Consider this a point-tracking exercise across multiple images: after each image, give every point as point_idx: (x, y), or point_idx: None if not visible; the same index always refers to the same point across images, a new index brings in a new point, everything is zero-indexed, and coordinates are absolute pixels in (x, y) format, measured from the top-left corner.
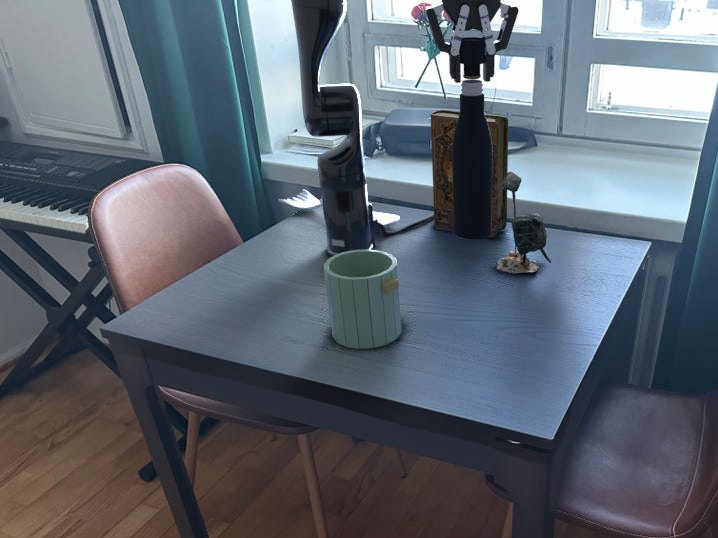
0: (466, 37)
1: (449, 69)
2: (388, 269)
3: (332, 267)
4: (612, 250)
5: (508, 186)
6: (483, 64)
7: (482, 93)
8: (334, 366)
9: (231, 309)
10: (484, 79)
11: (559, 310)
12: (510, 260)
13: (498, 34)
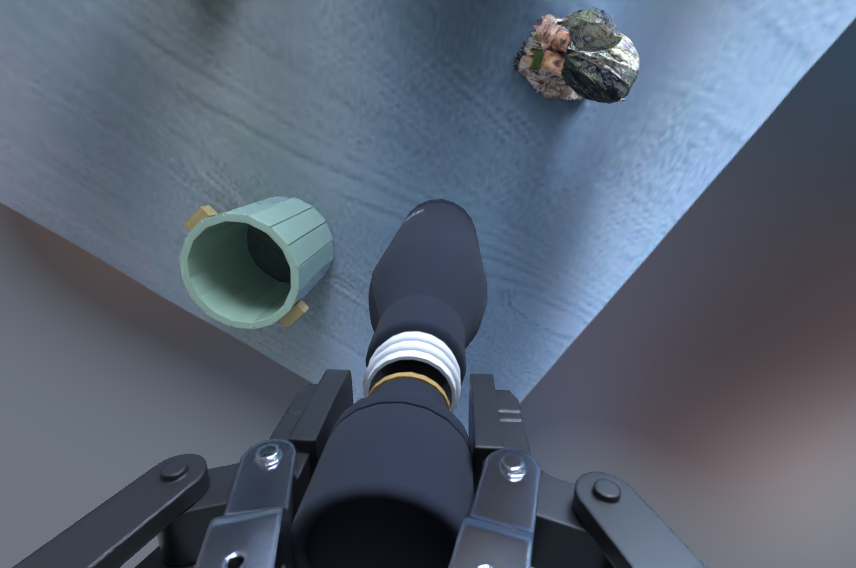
0: (351, 499)
1: (291, 405)
2: (285, 305)
3: (196, 249)
4: (793, 4)
5: (577, 48)
6: (472, 418)
7: (460, 367)
8: None
9: (79, 133)
10: (469, 401)
11: (571, 240)
12: (546, 70)
13: (613, 549)
